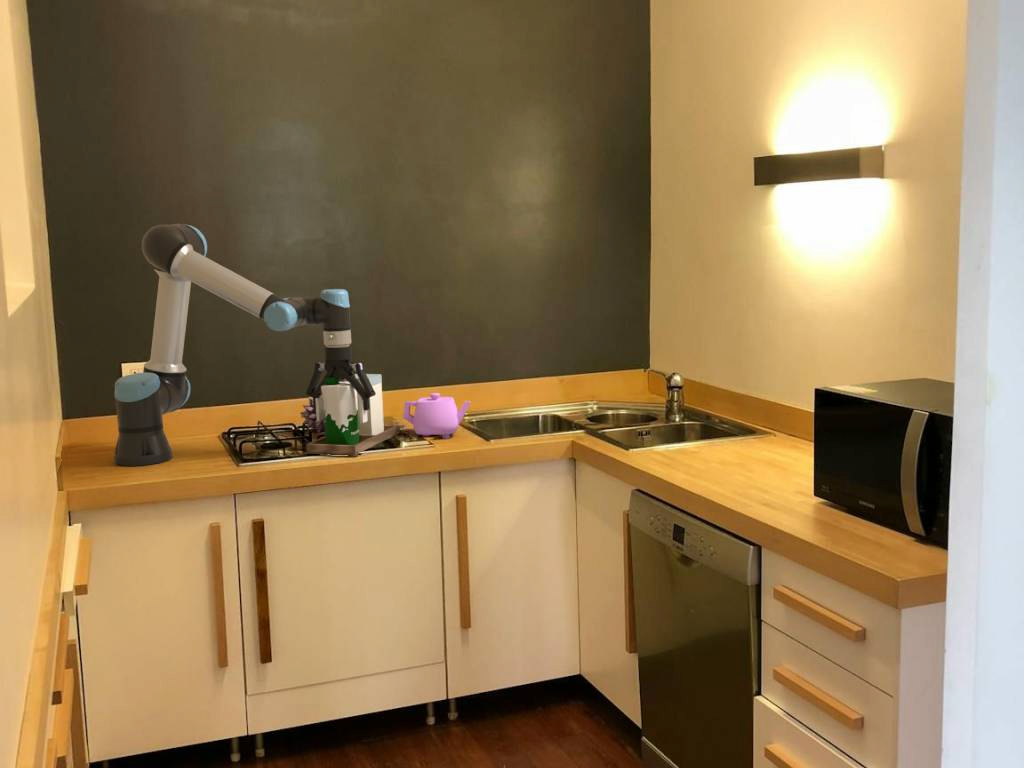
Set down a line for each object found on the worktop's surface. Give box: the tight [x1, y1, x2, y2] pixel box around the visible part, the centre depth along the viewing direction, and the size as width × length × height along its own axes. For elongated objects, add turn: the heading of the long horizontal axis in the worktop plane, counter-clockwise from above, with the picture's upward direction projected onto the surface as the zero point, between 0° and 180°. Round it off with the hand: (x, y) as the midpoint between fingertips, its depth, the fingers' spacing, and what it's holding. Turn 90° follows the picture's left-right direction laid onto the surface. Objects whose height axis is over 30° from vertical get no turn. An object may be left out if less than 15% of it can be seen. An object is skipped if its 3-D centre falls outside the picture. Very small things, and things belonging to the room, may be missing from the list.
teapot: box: [402, 392, 471, 440], centre depth 311 cm, size 20×12×13 cm, turn 88°
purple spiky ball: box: [299, 395, 325, 434], centre depth 320 cm, size 12×12×12 cm
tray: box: [305, 424, 401, 458], centre depth 303 cm, size 15×29×3 cm, turn 162°
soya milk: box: [321, 377, 359, 445], centre depth 295 cm, size 9×9×20 cm
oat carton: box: [343, 373, 385, 435], centre depth 308 cm, size 8×8×18 cm
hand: (342, 421), depth 296 cm, fingers open, 13 cm apart
